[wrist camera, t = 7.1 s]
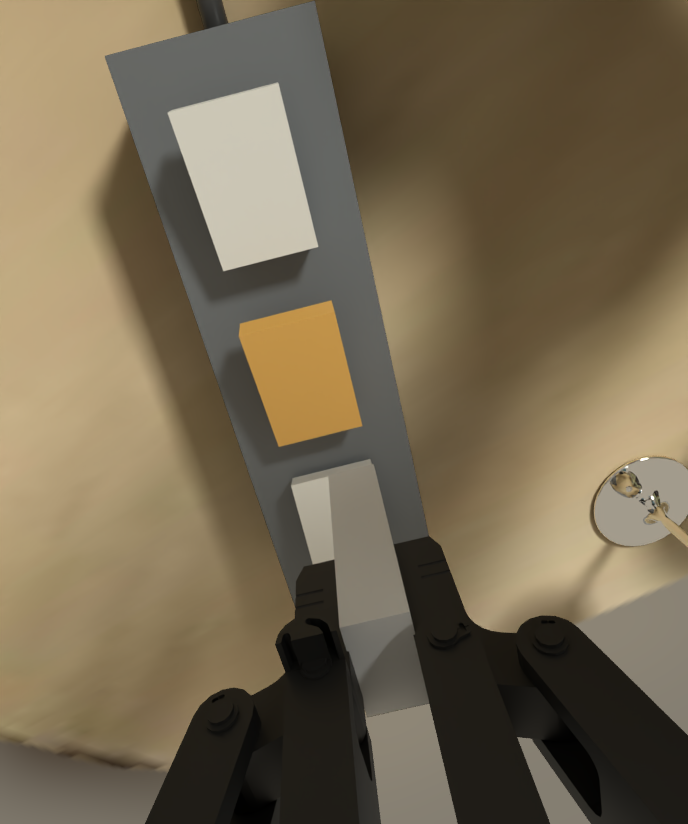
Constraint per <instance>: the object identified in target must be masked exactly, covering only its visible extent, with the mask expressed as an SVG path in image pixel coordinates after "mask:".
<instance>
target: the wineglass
mask: <svg viewBox="0 0 688 824" xmlns="http://www.w3.org/2000/svg"><path fill="white" fill-rule="evenodd" d="M593 513H594V520H595V523H596V526H597V528H598V530H599V531H600V532H601V534H602V535H603V536H605V537H606V538H607V539H608V540H610V541H612V542H614V543H616V544H620V545H624V546H642V545H646V544H650V543H653V542H656V541H658V540H660V539H662V538H664V537H666V536H667V535H669V534H670V533H672V534H673V535H674V536H675V537H676V538H677V539H679V540H680V541H681V542H682V543H683V544H684V545H685V546H686V547H688V533H687V532H686V531H685V530H683V529H682V528H681V527H680V526H679V525H680V524H681V523H682V522H683V521H684V520H685V518H686V517H687V515H688V469H687V468H686V467H685V466H684V465H683V464H682V463H681V462H679V461H677V460H675V459H673V458H669V457H666V456H647V457H642V458H639V459H635V460H633V461H631V462H629V463H626V464H624V465H623V466H621V467H620V468H619V469H617V470H616V471H615V472H613V473H612V474H611V475H610V476H609V477H608V478H607V480H606V481H605V482H604V483H603V485H602V486H601V488H600V490H599V492H598V494H597V496H596V499H595V502H594V511H593Z"/></svg>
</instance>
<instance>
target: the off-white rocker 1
mask: <svg viewBox="0 0 688 824" xmlns="http://www.w3.org/2000/svg"><path fill="white" fill-rule="evenodd" d="M168 116H169V119H170V121H171V124H172V127H173V130H174V133H175V136H176V138H177V141H178V144H179V147H180V150H181V153H182V155H183V158H184V161H185V164H186V167H187V170H188V172H189V175H190V178H191V181H192V184H193V187H194V189H195V192H196V195H197V198H198V201H199V204H200V206H201V209H202V212H203V215H204V218H205V221H206V223H207V226H208V229H209V232H210V235H211V238H212V240H213V243H214V246H215V249H216V252H217V255H218V257H219V260H220V263H221V266H222V269H223V271H226V270H230V269H234V268H238V267H242V266H246V265H250V264H254V263H258V262H262V261H266V260H269V259H273V258H277V257H281V256H285V255H289V254H293V253H297V252H301V251H305V250H308V249H312V248H316V247H318V243H317V239H316V235H315V231H314V227H313V223H312V219H311V215H310V211H309V206H308V202H307V198H306V194H305V190H304V186H303V182H302V178H301V174H300V169H299V165H298V161H297V157H296V153H295V149H294V145H293V141H292V137H291V133H290V128H289V124H288V120H287V116H286V112H285V108H284V104H283V100H282V96H281V92H280V87H279V83H278V82H277V83H273V84H270V85H266V86H262V87H258V88H254V89H251V90H247V91H243V92H239V93H235V94H231V95H228V96H224V97H220V98H216V99H212V100H208V101H205V102H201V103H197V104H193V105H189V106H186V107H182V108H178V109H174V110H171V111H169V112H168Z"/></svg>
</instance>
